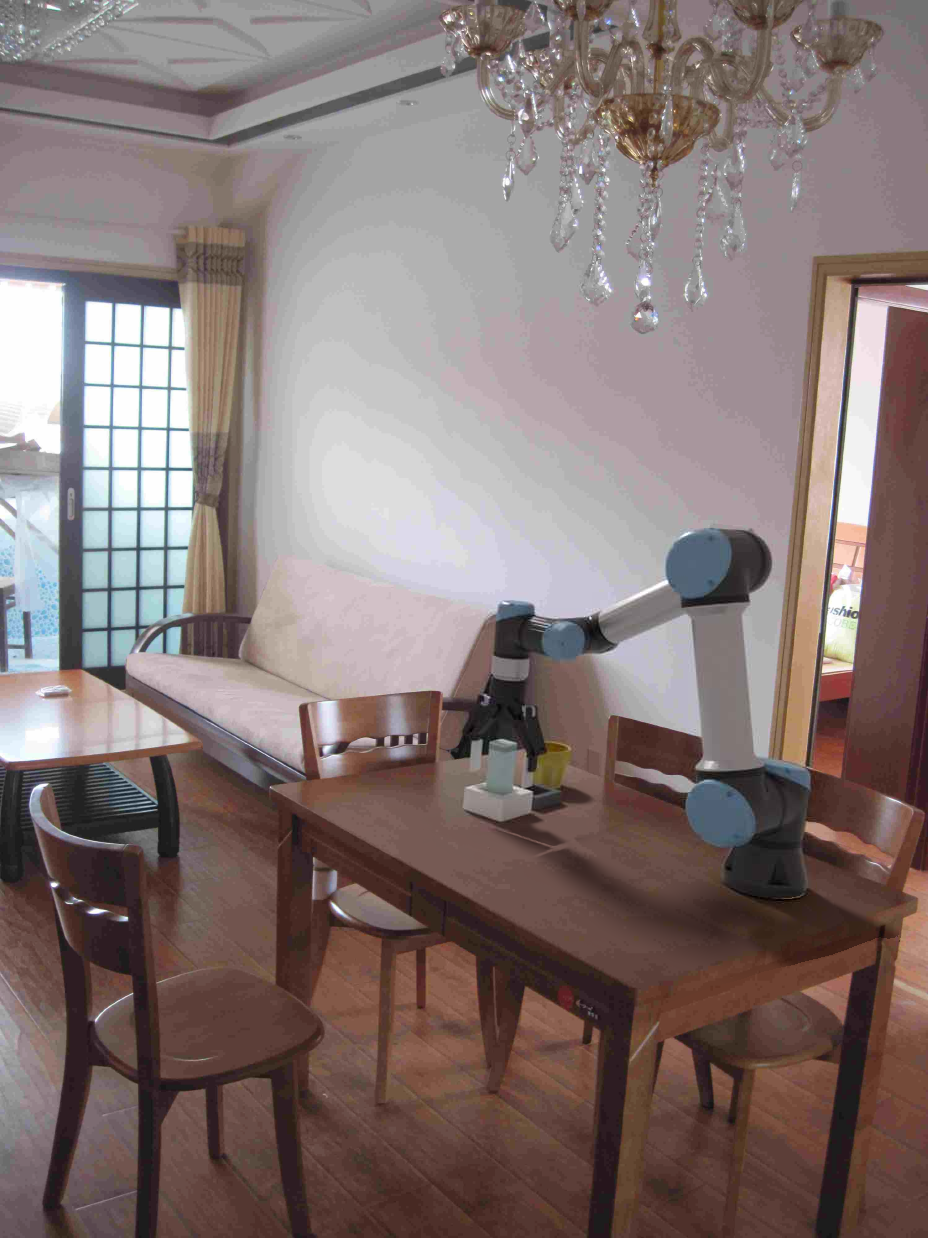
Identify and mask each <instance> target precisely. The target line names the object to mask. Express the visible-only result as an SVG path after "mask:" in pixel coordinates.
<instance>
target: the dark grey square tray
mask: <svg viewBox="0 0 928 1238" xmlns="http://www.w3.org/2000/svg"><path fill="white" fill-rule="evenodd" d="M513 786H516V787H520V788H522V787H521V783H516V784H513ZM523 789H526V790H529V791H533V796H532V807H531V810H534V811H538V810H542V809H545V808H548V807H551V806H555V805H559V804H561V803H562V800H563V797H562V796H563V791H562V790H559V789H553V788H550V787H547V786H543V785H540V784H537V783H533V782H532V786H530V787H526V788H523Z"/></svg>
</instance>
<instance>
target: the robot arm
mask: <svg viewBox="0 0 928 1238" xmlns="http://www.w3.org/2000/svg"><path fill="white" fill-rule="evenodd" d="M664 569H665V571H664V572H665V577H666V579H665V580H663V581H659V582H658V583H655V584H653V585H652V586H650V587H648V588H645V589H643V590H641V591H639V592H637V593H634V594H633V595H630V596H628V597H627V598H624V599H622V600H621V601H618V602H615V603H614V604H611V605H609V606H608V607H605V608H603V609H602V610H600V611H597V612H594V613H593V614H591V615H587V616H582V617H581V616H579V617H566V618H565V617H564V618H562V617H561V618H551V617H546V616H539V615H537V614H536V612H535V610H536V609H535V607H536V606H535V605H534V603H532V602H528V601H523V600H522V601H521V600H511V599H510V600H502V601H500V602H499V603H498V606H497V610H496V611H497V612H496V616H495V620H494V621H495V628H494V642H493V652H492V662H491V670H490V673H491V674H492V676H491V677H490V684H489V693H483V694H482V693H481V694H478V695H477V698H476V703H475V705H474V708H473V709H472V711H471V713H470V715H469V716H468V718H467V721H466V723H465V724H464V727H463V728H462V730H461V733H462V735H463V736H466V737H468V739H469V740H468V755H470V757H469V768H468V769H469V770H468V772H470V773H473V772H478V771H481V765H482V764H481V763H482V753H483V752H482V751H483V742H484V740H483V739H481V738H482V736H483V734H485V732H486V731H488V729H489V728H490V727H491V726H492V725H493V724H494V723H495V722H503V723H504V724H507V725H509V724H510V725H511V727H512V728H513V729H514V731H515V732H516V735H517V736H518V739H519V741H520V742H521V745H522V747H523V748H524V751H525V750H526V752H527V754H528V755H525V754H524V755H523V761H522V770H521V772H522V773H521V787H522V788H526V787H530V786H532V780H533V772H535V771H536V769H537V759H538V756H539V755H543V754H546V753H547V749H546V745H545V742H544V741H545V738H544V735H543V732H542V727H541V725H540V721H539V717H538V709H539V708H538V706H537V705H532V706H529V705H528V706H527V705H526V703H525V699H526V697H527V694H528V692H527V690H528V685H529V684H528V679H527V678H528V677H529V670H530V659H531V653H532V654H534V655H539V656H542V657H546V658H549V659H553V660H556V661H560V660H561V661H567V662H570V661H574V660H575V659H576V658H577V657H579V656H581V655H593V654H594V655H595V654H598V655H600V654H604V653H607V652H611V651H614V650H615V649H616V648H617V647H618V646H619V644H620V643H621V642H625V641H627V640H629V639H632V638H634V637H636V636H639V635H640V634H643V633H645V632H647V631H649V630H652V629H655V628H657V627H659V626H662V625H663V624H666V623H669V622H670V621H671V622H672V621H673V620H676V619H678V618H680V617H682V616H684V615H687V616H688V617H689V618H690V621H691V622H690V623H691V630H692V632H691V633H692V642H693V654H694V655H693V656H694V665H695V666H694V667H695V677H696V687H697V688H696V689H697V698H698V699H697V701H698V711H699V722H700V723H699V724H700V733H701V743H702V744H701V745H702V758H701V760H700V761H699V762H698V763H697V764H696V765H695V769H694V770H695V781H696V784H694V785H693V787H692V788H691V790H690V792H689V793H688V794H687V797H686V799H685V800H686V801H685V812H686V817H687V820H688V822H689V824H690V826H691V828H692V829H693V831H694V832H695V834H697V835H699V837H700V838H701V839H702V840H703V841H704V842H706V843H707V844H709V845H711V846H714V847H717V848H718V847H719V848H730V849H729V851H728V853H727V856H726V857H725V859H724V861H723V863H722V867H721V875H720V879H721V881H722V883H723V884H725V885H726V886H727V887H729V888H730V889H733V890H735V891H737V892H739V893H741V892H742V894H744V893H745V894H744V895H748V894H749V895H748V896H751V895H753V896H752V897H755V896H758V897H757V898H760V897H766V898H778V899H780V898H781V899H782V898H791V897H797V896H800V895H802V894H803V893H805V892H806V893H807V890H808V889H807V888H808V876H807V869H806V866H805V860H804V856H803V839H804V834H805V827H806V819H807V813H808V812H807V811H808V805H809V798H810V797H809V796H810V792H811V786H810V785H811V773H810V771H809V770H808V769H807V768H805V767H803V766H801V765H799V764H798V765H797V764H795V763H792V762H789V761H784V760H780V759H776V758H770V757H765V756H764V757H763V756H758V755H756V753H755V749H754V748H755V747H754V738H753V737H754V736H753V726H752V714H751V713H752V712H751V701H750V691H749V680H748V670H747V658H746V649H745V647H746V646H745V645H746V644H745V637H744V635H745V634H744V625H743V624H744V623H743V614H744V613H745V611H746V610H747V608H748V607H749V606H750V605H751V601H750V600H751V599H750V594H752V593H754V592H756V591H757V590H759V589H760V588H762V587H763V586H764V585H765V584H766V583H767V581H768V580H769V577H770V576H771V573H772V569H773V555H772V553H771V549H770V548H769V546H768V544H767V542H765V540H764V539H763V538H762V537H760V536H759V535H757V534H756V533H754V532H752V531H749V530H745V529H728V528H727V529H726V528H714V527H709V528H708V527H707V528H706V527H705V528H701V529H700V528H699V529H692V530H690V531H687V532H684V533H683V534H681V535H680V536H679V537H678V538H676V540H675V541H674V542H673V544H672V545H671V546H670V548H669V550H668V552H667V556H666V559H665V565H664ZM488 706H489V708H490V710H489V711H488V712H487V713H486V715H485V716H484V718H483V719H482V717H483V715H484V713H485V712H486V710H487V708H488ZM481 719H482V720H481ZM480 720H481V721H480ZM806 889H807V890H806Z"/></svg>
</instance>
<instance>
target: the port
mask: <svg viewBox="0 0 928 1238" xmlns="http://www.w3.org/2000/svg"><path fill="white" fill-rule="evenodd" d="M485 788H486V781H485V782H482V783H477V784H474V785H469V786H466V787H464V790H463V791H464V795H463V804H462V809H463V810H465V811H467V812H471V813H473V814H475V815H476V814H477V815H479V816H483V817H485V818H488V819H491V820H494V821H498V822H506V821H508V820H512V819H515V818H519V817H522V816H526V815H528V814H531V813H532V809H531V807H532V796H533V791H529V790H526V789H523V788H520V787H516V786H513V793H509V794H506V795H502V796H501V795H498V794H495V793H491V792H488V791H485Z"/></svg>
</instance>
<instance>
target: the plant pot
mask: <svg viewBox="0 0 928 1238" xmlns="http://www.w3.org/2000/svg"><path fill="white" fill-rule="evenodd" d="M544 742H545V745H546V749H547V753H546V754H543V755H539V756H538V759H537V769H536V771H535V772H533V780H532V782H533V783H537V784H540V785H543V786H547V787H550V788H553V789H556V790H558V789H560V788H561V786H562V782H563V780H564V776H565V772H566V770H567V765H570V763H571V758H572V757H571V756H572V748H571V747H570V746H569V745H568V744H567V745H566V744H564V743H562V742H561V743H559V742H555V741H545V740H544ZM525 755H528V754H527V752H526V750H525V749H524V756H525Z"/></svg>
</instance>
